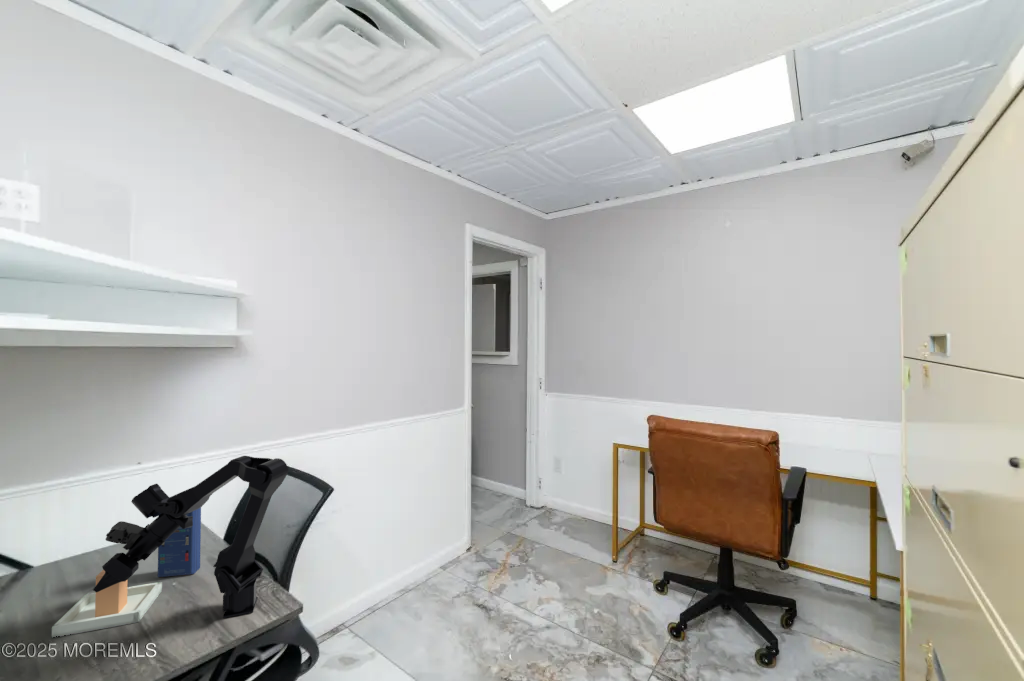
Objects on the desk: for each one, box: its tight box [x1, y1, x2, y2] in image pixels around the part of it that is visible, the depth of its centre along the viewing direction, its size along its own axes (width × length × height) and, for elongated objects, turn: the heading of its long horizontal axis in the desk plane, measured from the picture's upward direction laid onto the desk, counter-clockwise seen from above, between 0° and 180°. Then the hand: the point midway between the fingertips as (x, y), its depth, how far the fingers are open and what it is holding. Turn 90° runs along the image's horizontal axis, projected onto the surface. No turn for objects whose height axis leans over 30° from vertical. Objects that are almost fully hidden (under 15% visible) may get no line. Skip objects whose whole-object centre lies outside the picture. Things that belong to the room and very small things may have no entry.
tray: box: [51, 581, 163, 639], centre depth 107 cm, size 16×14×2 cm
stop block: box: [95, 569, 129, 617], centre depth 107 cm, size 4×4×10 cm
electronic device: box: [157, 507, 202, 578], centre depth 126 cm, size 10×5×20 cm, turn 102°
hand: (105, 580), depth 107 cm, fingers open, 9 cm apart
